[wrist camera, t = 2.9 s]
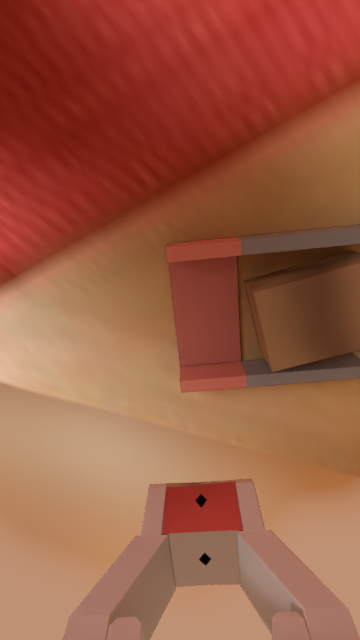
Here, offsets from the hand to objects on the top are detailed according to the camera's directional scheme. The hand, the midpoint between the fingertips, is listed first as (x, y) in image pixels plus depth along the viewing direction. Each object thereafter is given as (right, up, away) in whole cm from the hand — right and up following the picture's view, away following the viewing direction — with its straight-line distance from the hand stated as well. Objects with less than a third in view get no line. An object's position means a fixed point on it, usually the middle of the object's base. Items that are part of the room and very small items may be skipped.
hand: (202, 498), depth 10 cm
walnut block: (+9, +7, +16) cm, 20 cm away
